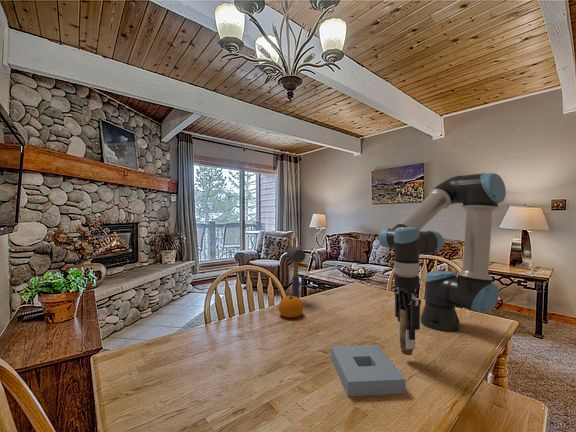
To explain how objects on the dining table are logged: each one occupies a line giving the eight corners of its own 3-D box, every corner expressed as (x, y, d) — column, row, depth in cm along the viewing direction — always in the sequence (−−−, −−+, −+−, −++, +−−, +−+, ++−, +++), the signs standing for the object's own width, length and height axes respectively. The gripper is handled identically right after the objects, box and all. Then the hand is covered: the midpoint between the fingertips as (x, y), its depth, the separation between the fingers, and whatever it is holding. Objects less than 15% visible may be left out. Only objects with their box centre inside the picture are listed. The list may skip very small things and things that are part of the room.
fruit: (307, 314, 138) (307, 293, 138) (295, 322, 128) (295, 299, 128) (287, 309, 144) (287, 289, 144) (273, 316, 135) (273, 295, 134)
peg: (409, 349, 98) (409, 308, 97) (416, 355, 93) (416, 312, 93) (397, 349, 97) (397, 308, 97) (403, 356, 93) (403, 313, 93)
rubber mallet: (306, 306, 149) (306, 248, 148) (292, 307, 147) (292, 249, 146) (298, 299, 161) (298, 245, 160) (285, 300, 159) (285, 245, 158)
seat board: (377, 356, 99) (377, 344, 98) (405, 393, 79) (405, 379, 79) (330, 358, 97) (331, 346, 97) (347, 396, 77) (347, 381, 77)
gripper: (384, 269, 103) (384, 333, 104) (408, 281, 86) (408, 359, 86) (405, 268, 103) (405, 332, 104) (432, 280, 86) (432, 357, 87)
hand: (406, 344), depth 95 cm, fingers closed on peg, 4 cm apart
